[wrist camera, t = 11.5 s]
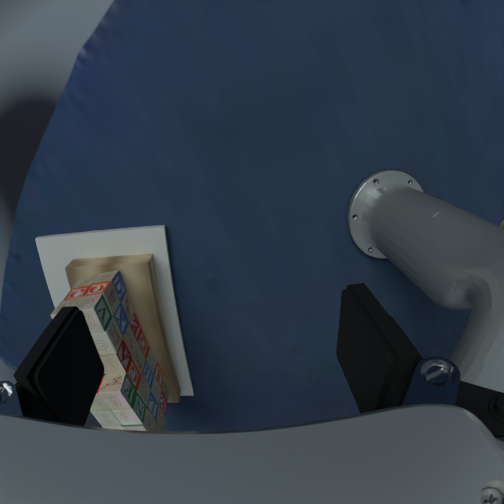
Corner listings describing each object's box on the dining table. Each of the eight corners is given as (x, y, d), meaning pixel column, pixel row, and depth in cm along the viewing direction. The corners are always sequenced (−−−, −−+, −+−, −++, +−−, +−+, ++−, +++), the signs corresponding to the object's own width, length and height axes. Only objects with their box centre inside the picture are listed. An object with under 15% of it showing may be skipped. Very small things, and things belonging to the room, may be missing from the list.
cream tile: (165, 224, 40) (163, 226, 39) (194, 392, 51) (193, 395, 50) (37, 236, 38) (35, 238, 38) (90, 389, 50) (89, 392, 49)
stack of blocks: (79, 276, 37) (37, 329, 26) (119, 268, 37) (84, 323, 26) (135, 392, 46) (121, 452, 34) (170, 389, 46) (162, 452, 34)
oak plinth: (152, 253, 40) (147, 263, 37) (180, 390, 50) (179, 402, 47) (73, 258, 39) (64, 267, 37) (115, 388, 49) (112, 400, 46)
